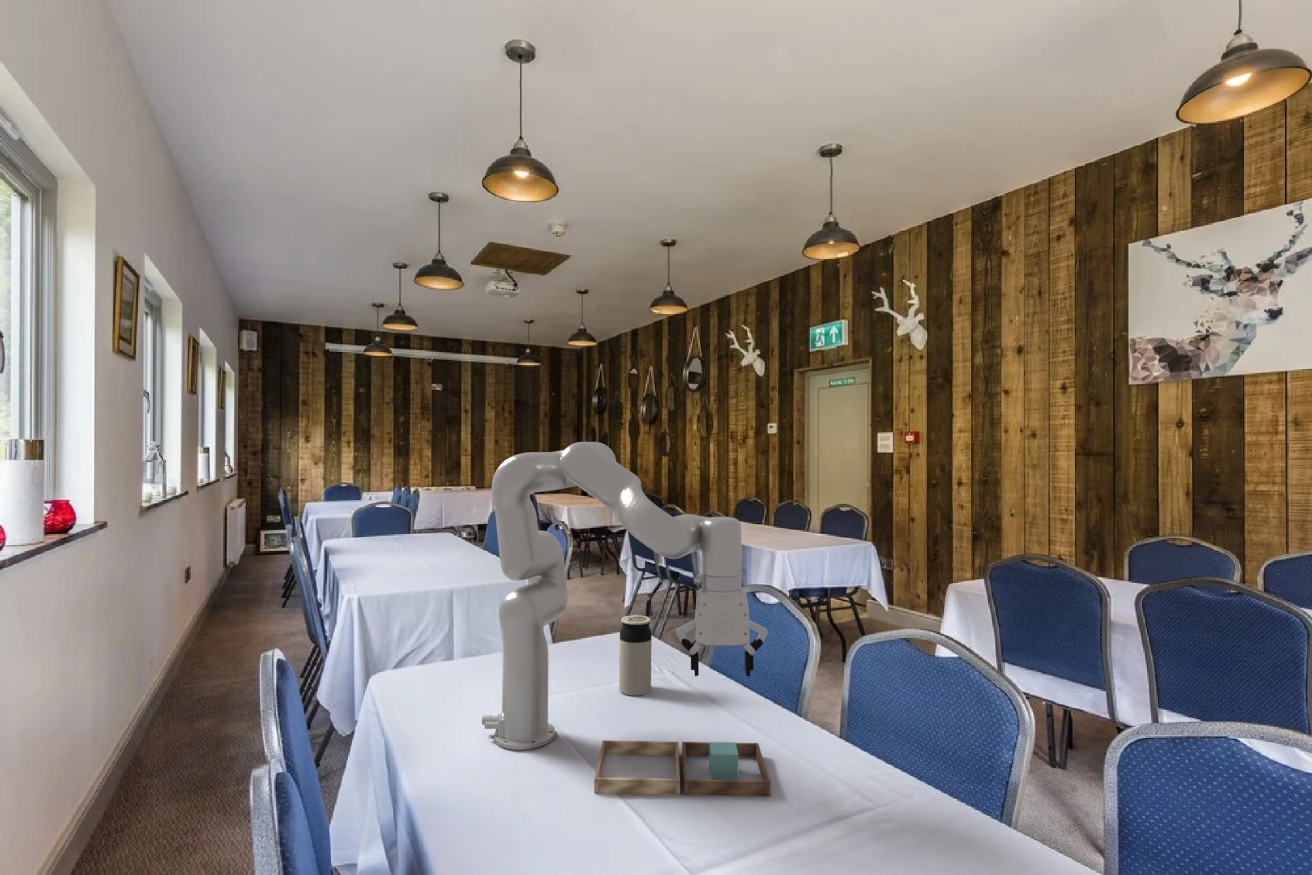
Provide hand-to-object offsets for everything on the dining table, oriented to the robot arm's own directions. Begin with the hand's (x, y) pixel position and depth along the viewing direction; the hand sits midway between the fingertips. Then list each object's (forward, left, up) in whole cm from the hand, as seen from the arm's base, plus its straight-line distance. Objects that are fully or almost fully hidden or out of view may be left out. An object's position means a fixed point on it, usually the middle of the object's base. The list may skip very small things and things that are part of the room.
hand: (721, 673), depth 124 cm
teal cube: (0, 0, -19) cm, 19 cm away
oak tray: (-16, 0, -19) cm, 24 cm away
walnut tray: (0, 0, -19) cm, 19 cm away
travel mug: (-18, +41, -19) cm, 49 cm away
